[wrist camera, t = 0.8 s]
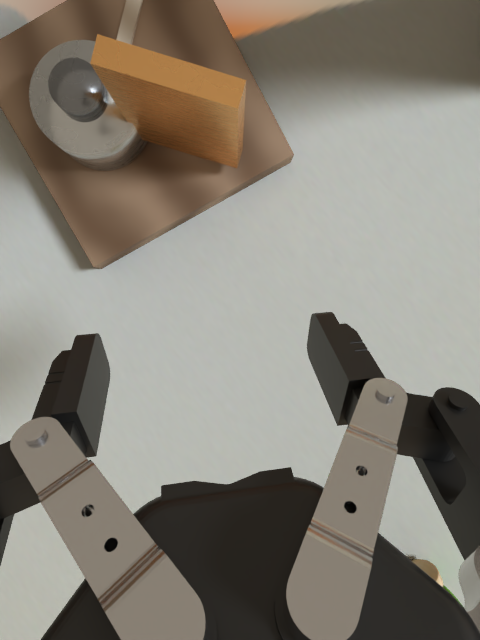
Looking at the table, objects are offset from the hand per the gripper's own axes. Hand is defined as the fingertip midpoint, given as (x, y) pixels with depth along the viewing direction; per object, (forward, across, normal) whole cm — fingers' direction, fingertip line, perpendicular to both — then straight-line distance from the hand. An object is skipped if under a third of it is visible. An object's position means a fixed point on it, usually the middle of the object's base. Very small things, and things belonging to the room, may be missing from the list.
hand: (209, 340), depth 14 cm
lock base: (+28, +4, -3) cm, 28 cm away
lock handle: (+24, +3, -2) cm, 25 cm away
